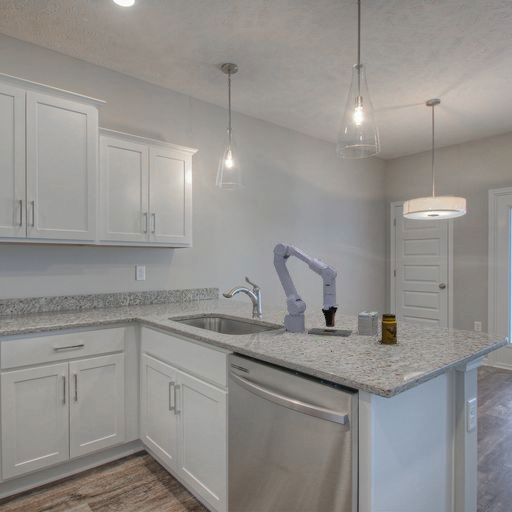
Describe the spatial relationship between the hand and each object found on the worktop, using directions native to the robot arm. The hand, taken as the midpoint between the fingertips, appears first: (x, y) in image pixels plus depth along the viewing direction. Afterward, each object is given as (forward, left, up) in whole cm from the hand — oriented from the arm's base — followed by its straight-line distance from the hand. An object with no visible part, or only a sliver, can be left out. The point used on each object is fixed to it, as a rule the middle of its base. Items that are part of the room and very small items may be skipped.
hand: (329, 323), depth 171 cm
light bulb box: (+16, +7, -6) cm, 19 cm away
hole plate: (0, 0, -6) cm, 6 cm away
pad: (0, -12, -6) cm, 13 cm away
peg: (0, 0, -1) cm, 1 cm away
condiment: (+25, -4, -6) cm, 26 cm away
